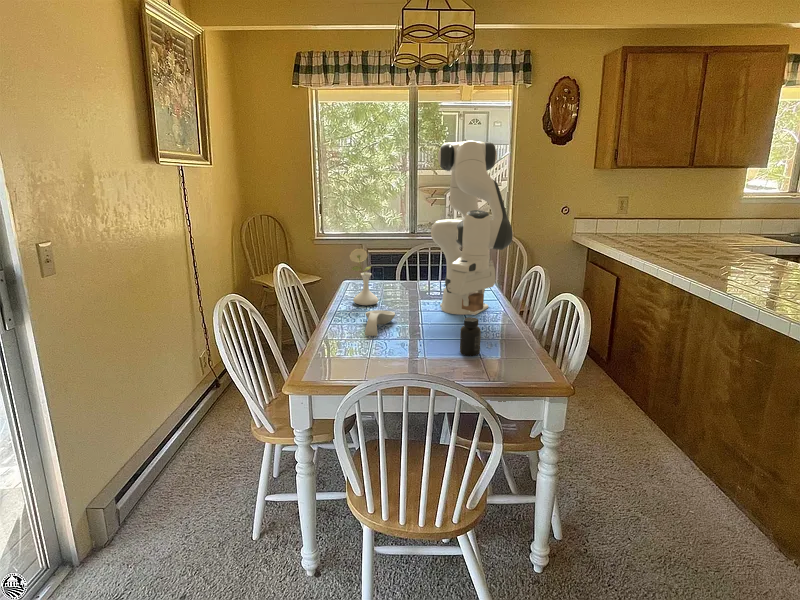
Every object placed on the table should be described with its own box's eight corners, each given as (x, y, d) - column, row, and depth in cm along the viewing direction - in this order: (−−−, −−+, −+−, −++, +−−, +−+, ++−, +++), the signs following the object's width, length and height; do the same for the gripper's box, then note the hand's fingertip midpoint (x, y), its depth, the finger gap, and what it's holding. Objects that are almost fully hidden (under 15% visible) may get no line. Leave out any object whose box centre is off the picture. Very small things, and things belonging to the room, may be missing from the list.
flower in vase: (380, 301, 231) (380, 246, 224) (376, 307, 220) (377, 251, 213) (352, 299, 232) (351, 245, 226) (347, 306, 221) (346, 250, 215)
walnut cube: (470, 305, 169) (471, 291, 168) (483, 308, 166) (484, 294, 164) (461, 308, 166) (462, 293, 164) (474, 311, 162) (474, 296, 161)
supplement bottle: (476, 349, 174) (478, 315, 170) (482, 356, 167) (485, 322, 164) (456, 350, 172) (458, 316, 169) (462, 357, 166) (464, 322, 163)
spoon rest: (368, 317, 208) (368, 300, 206) (396, 318, 206) (397, 302, 204) (356, 336, 185) (356, 317, 183) (387, 338, 184) (388, 319, 182)
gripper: (485, 257, 171) (482, 296, 175) (447, 264, 157) (445, 307, 160) (501, 259, 167) (498, 300, 170) (464, 268, 152) (461, 311, 156)
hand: (472, 304), depth 165 cm, fingers closed on walnut cube, 5 cm apart
